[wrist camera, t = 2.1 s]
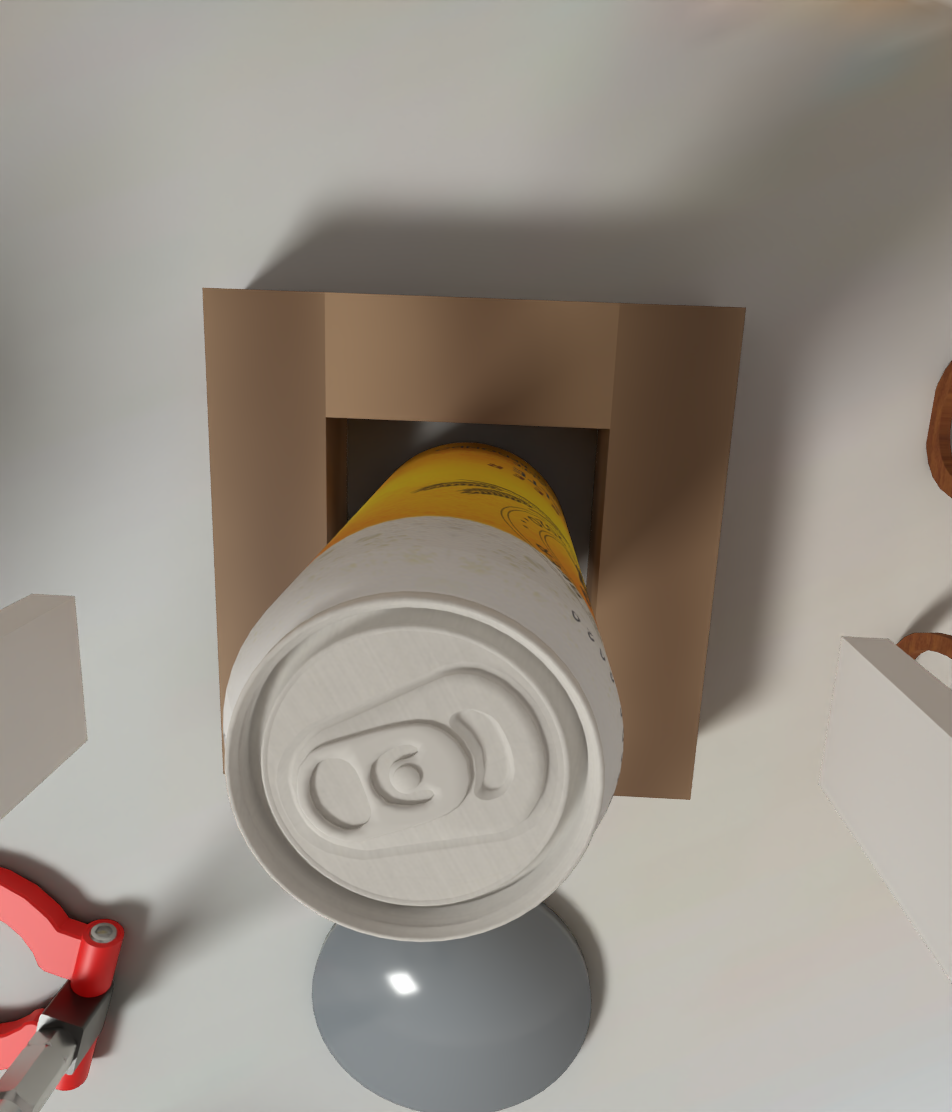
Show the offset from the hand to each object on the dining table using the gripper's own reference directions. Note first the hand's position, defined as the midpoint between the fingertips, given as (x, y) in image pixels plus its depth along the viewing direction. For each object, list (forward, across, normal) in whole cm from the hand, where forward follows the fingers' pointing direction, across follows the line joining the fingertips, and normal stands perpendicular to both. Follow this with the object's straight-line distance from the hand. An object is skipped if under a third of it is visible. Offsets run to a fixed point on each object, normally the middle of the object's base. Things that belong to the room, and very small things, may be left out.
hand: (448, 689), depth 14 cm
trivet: (+12, 0, -17) cm, 21 cm away
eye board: (+12, 0, 0) cm, 12 cm away
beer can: (+12, 0, 0) cm, 12 cm away
